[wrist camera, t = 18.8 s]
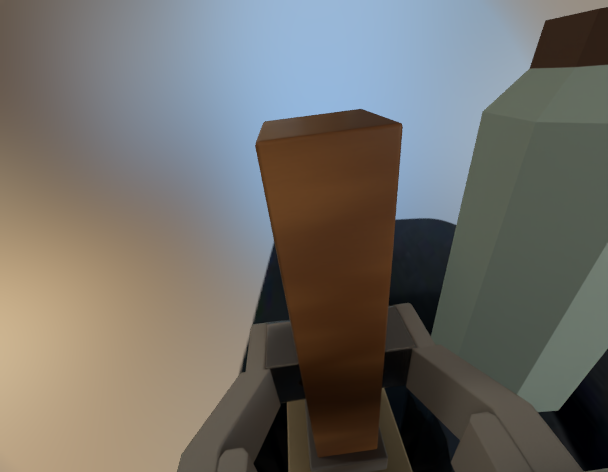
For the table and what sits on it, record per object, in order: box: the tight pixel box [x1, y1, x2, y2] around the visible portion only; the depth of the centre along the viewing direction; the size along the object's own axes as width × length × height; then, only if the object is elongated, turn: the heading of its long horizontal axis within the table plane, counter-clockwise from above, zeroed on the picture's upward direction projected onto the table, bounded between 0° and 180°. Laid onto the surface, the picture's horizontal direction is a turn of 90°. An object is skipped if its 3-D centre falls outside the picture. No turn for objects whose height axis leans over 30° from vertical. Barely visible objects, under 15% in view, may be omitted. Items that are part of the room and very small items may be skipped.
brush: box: [255, 109, 413, 472], centre depth 10 cm, size 5×5×19 cm
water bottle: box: [431, 7, 608, 412], centre depth 17 cm, size 10×10×25 cm
